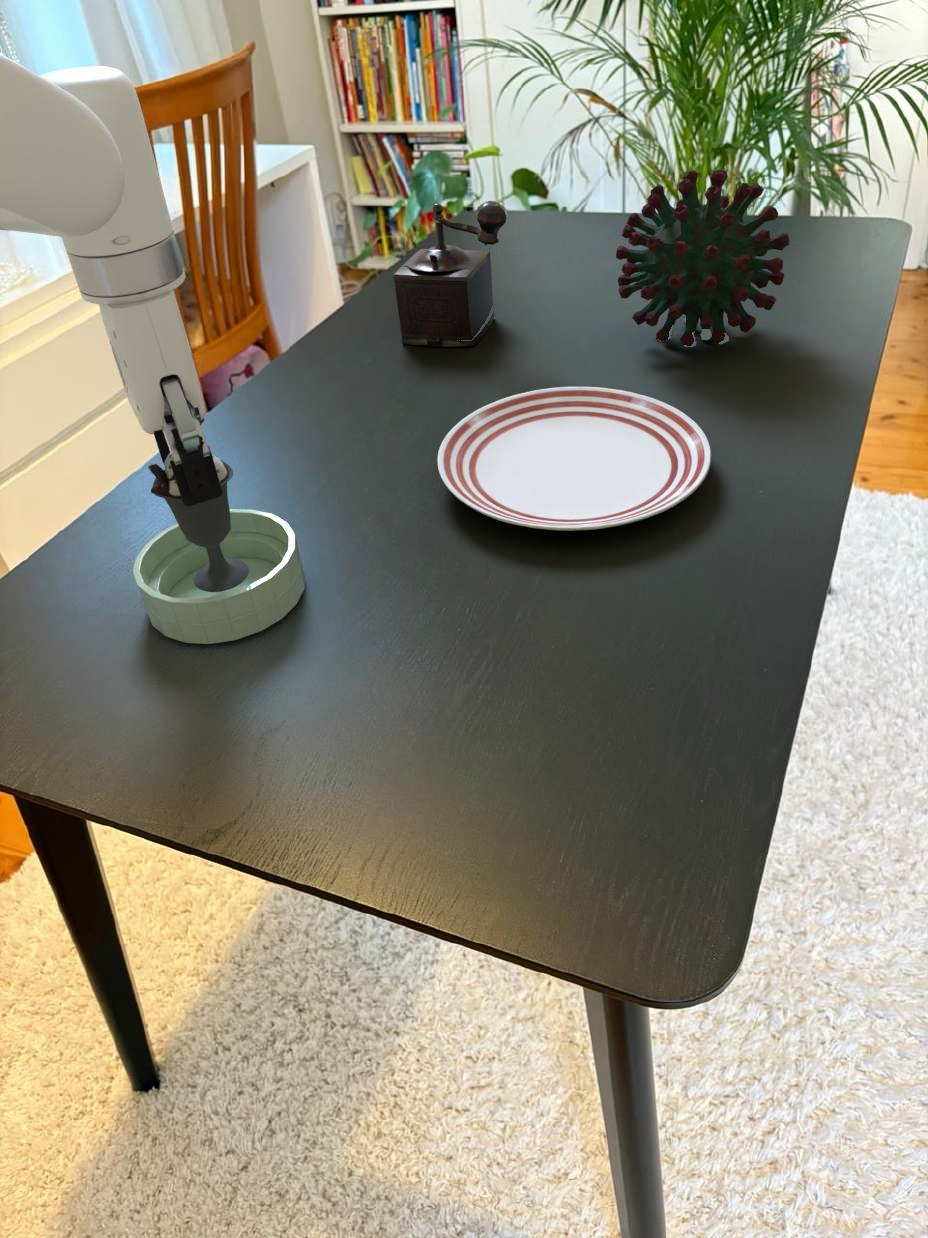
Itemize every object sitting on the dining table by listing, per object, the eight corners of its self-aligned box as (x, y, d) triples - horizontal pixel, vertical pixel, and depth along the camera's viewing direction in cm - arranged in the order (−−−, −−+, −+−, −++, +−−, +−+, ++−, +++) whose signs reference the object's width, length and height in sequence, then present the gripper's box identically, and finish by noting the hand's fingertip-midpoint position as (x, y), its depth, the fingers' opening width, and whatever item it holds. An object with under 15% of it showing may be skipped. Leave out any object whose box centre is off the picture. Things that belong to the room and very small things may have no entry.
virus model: (675, 298, 134) (683, 141, 122) (808, 330, 123) (833, 160, 110) (583, 350, 124) (581, 184, 111) (720, 390, 112) (735, 210, 100)
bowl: (168, 669, 82) (151, 623, 79) (136, 582, 92) (120, 539, 89) (326, 613, 86) (316, 567, 83) (279, 536, 96) (268, 493, 93)
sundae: (273, 561, 88) (234, 411, 79) (230, 604, 84) (183, 450, 75) (214, 548, 91) (170, 401, 82) (169, 590, 86) (117, 439, 77)
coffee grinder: (397, 346, 130) (378, 206, 118) (425, 314, 138) (410, 179, 126) (509, 353, 125) (501, 207, 114) (532, 319, 133) (526, 179, 122)
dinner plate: (768, 485, 96) (772, 455, 94) (537, 588, 86) (536, 557, 84) (598, 390, 115) (598, 363, 113) (394, 465, 105) (390, 438, 103)
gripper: (59, 245, 75) (128, 449, 86) (94, 315, 63) (170, 544, 74) (155, 224, 77) (210, 426, 89) (208, 288, 65) (265, 514, 76)
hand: (192, 478), depth 81 cm, fingers closed on sundae, 6 cm apart
